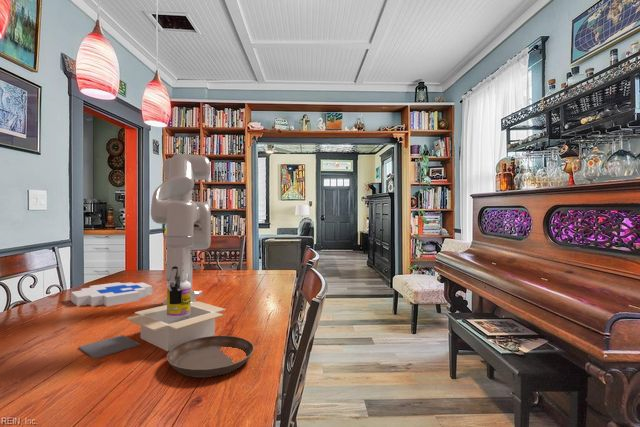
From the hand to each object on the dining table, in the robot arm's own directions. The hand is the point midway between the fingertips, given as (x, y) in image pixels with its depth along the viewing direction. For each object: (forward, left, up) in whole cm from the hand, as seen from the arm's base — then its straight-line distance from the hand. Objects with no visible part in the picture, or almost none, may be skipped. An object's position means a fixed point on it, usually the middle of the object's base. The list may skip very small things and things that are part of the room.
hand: (179, 299), depth 97 cm
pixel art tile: (-8, -64, -12) cm, 66 cm away
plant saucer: (+4, +23, -11) cm, 26 cm away
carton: (0, +1, -11) cm, 11 cm away
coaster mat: (+16, -7, -11) cm, 21 cm away
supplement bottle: (0, 0, -5) cm, 5 cm away
